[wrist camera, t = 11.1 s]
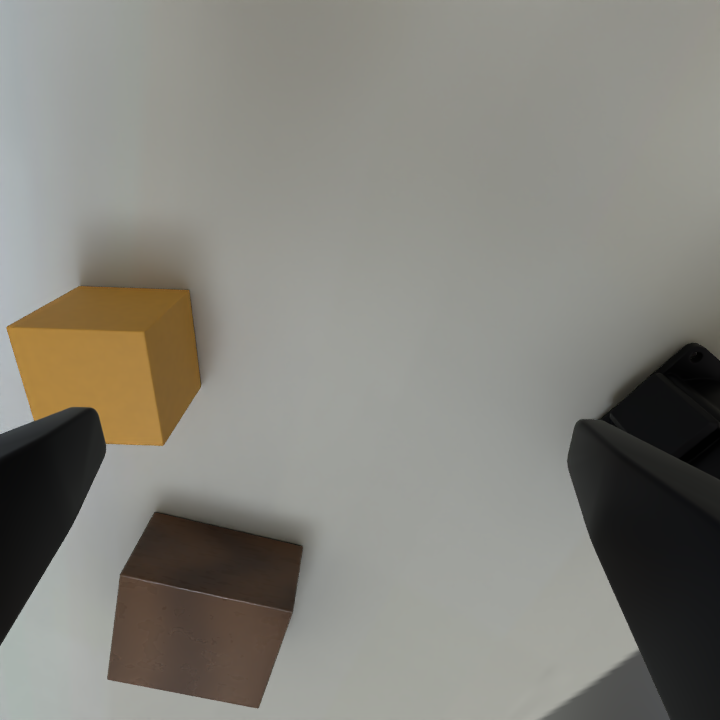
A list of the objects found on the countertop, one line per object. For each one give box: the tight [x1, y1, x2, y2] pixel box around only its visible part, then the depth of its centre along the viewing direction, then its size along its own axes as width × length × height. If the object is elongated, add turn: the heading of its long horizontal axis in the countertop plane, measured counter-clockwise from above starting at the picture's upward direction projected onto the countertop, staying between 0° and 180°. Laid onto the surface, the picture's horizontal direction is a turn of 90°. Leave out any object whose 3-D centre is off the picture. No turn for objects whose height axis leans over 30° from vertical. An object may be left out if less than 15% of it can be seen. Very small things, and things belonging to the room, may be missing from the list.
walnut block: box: [107, 512, 303, 708], centre depth 26 cm, size 8×8×4 cm
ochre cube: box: [7, 286, 201, 446], centre depth 19 cm, size 5×5×5 cm
